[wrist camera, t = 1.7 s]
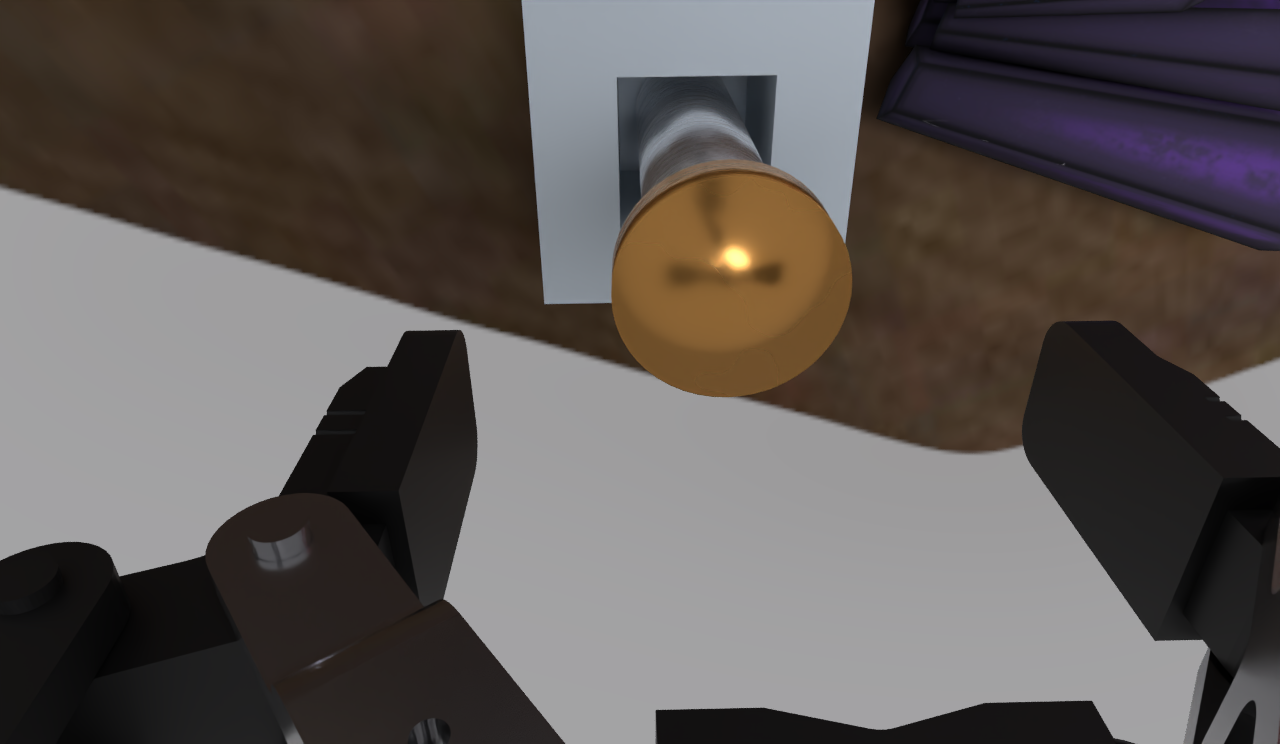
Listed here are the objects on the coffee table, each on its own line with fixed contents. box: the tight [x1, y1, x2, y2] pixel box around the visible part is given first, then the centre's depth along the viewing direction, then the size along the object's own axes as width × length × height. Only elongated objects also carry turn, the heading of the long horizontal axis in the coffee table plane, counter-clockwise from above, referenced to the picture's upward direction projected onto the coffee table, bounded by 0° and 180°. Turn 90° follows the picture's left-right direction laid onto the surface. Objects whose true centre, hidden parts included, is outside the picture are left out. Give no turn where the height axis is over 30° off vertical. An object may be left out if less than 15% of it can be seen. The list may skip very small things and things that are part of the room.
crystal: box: [877, 0, 1280, 251], centre depth 23 cm, size 7×12×20 cm
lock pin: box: [611, 76, 852, 397], centre depth 20 cm, size 4×4×13 cm
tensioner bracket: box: [522, 0, 875, 304], centre depth 22 cm, size 15×9×6 cm, turn 1°
